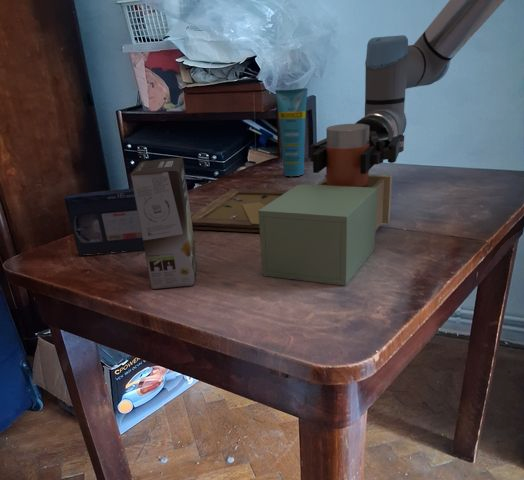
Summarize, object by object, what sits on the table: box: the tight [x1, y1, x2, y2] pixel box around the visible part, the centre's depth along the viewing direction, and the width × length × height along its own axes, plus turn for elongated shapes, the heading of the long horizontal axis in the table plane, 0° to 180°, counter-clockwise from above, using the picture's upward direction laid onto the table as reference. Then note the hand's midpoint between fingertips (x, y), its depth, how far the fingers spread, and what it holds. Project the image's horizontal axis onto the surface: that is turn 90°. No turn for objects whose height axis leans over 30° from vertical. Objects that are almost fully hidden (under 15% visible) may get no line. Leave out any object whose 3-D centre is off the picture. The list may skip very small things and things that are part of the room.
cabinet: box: [258, 183, 377, 287], centre depth 78 cm, size 15×13×10 cm
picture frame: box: [191, 188, 290, 233], centre depth 105 cm, size 19×2×24 cm
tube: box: [274, 87, 308, 177], centre depth 126 cm, size 7×5×19 cm, turn 81°
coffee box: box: [130, 157, 198, 290], centre depth 76 cm, size 9×6×16 cm
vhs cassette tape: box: [63, 187, 145, 256], centre depth 89 cm, size 18×3×10 cm, turn 95°
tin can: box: [325, 123, 370, 187], centre depth 84 cm, size 7×7×10 cm
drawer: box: [316, 173, 393, 231], centre depth 89 cm, size 18×11×8 cm, turn 155°
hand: (338, 163), depth 80 cm, fingers closed on tin can, 7 cm apart
